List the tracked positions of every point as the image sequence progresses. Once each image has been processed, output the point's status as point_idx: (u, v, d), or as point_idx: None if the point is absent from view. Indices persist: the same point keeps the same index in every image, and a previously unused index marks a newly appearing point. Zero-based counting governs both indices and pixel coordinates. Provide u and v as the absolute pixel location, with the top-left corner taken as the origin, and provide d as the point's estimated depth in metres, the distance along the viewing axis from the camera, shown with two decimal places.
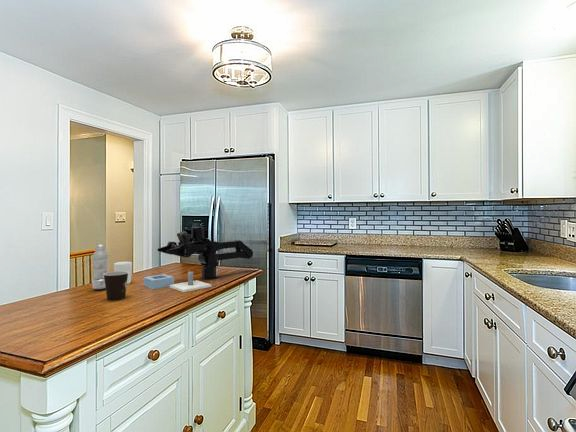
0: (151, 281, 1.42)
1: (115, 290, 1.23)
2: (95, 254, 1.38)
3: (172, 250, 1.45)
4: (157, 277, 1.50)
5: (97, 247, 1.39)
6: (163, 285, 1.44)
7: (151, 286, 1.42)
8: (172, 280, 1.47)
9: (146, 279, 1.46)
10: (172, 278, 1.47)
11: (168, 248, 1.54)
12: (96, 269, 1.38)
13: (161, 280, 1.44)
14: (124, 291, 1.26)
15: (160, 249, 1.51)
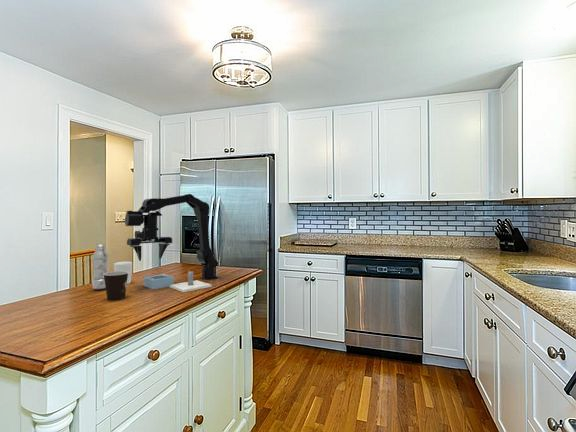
0: (151, 281, 1.42)
1: (115, 290, 1.23)
2: (95, 254, 1.38)
3: (137, 255, 1.41)
4: (157, 277, 1.50)
5: (97, 247, 1.39)
6: (163, 285, 1.44)
7: (151, 286, 1.42)
8: (172, 280, 1.47)
9: (146, 279, 1.46)
10: (172, 278, 1.47)
11: (160, 247, 1.48)
12: (96, 269, 1.38)
13: (161, 280, 1.44)
14: (124, 291, 1.26)
15: (159, 256, 1.48)
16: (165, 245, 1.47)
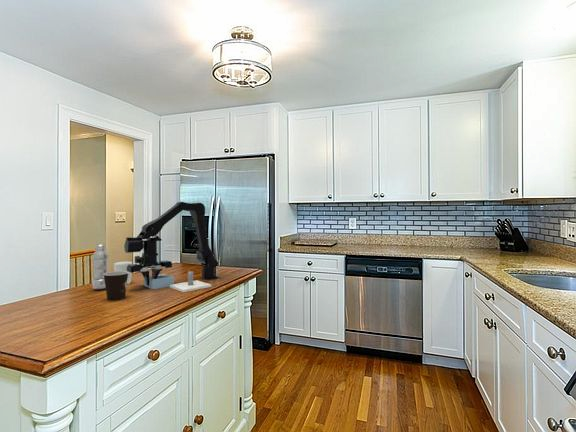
0: (151, 281, 1.42)
1: (115, 290, 1.23)
2: (95, 254, 1.38)
3: (145, 280, 1.44)
4: (157, 277, 1.50)
5: (97, 247, 1.39)
6: (163, 285, 1.44)
7: (151, 286, 1.42)
8: (172, 280, 1.47)
9: None
10: (172, 278, 1.47)
11: (153, 272, 1.46)
12: (96, 269, 1.38)
13: (161, 280, 1.44)
14: (124, 291, 1.26)
15: None
16: (158, 271, 1.45)
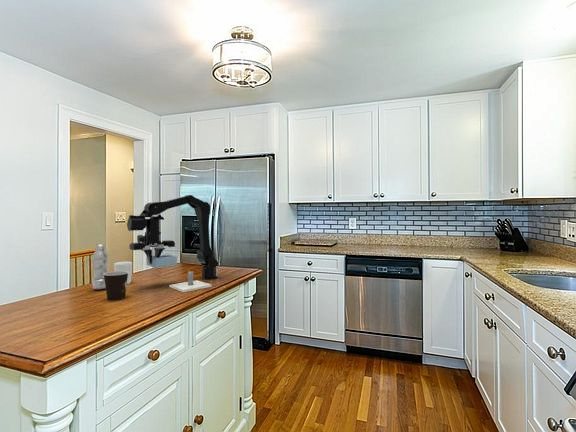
0: (154, 259, 1.41)
1: (115, 290, 1.23)
2: (95, 254, 1.38)
3: (148, 258, 1.43)
4: (160, 257, 1.50)
5: (97, 247, 1.39)
6: (166, 264, 1.44)
7: (154, 264, 1.42)
8: (175, 259, 1.47)
9: None
10: (175, 257, 1.47)
11: (156, 251, 1.46)
12: (96, 269, 1.38)
13: (164, 259, 1.43)
14: (124, 291, 1.26)
15: None
16: (160, 249, 1.44)
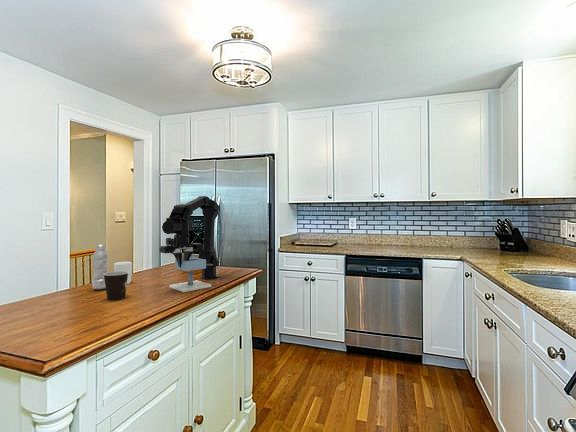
0: (184, 263, 1.39)
1: (115, 290, 1.23)
2: (95, 254, 1.38)
3: (177, 262, 1.41)
4: None
5: (97, 247, 1.39)
6: (195, 267, 1.42)
7: (184, 268, 1.39)
8: (204, 263, 1.45)
9: None
10: (204, 261, 1.45)
11: (185, 254, 1.44)
12: (96, 269, 1.38)
13: (194, 262, 1.41)
14: (124, 291, 1.26)
15: None
16: (190, 253, 1.42)
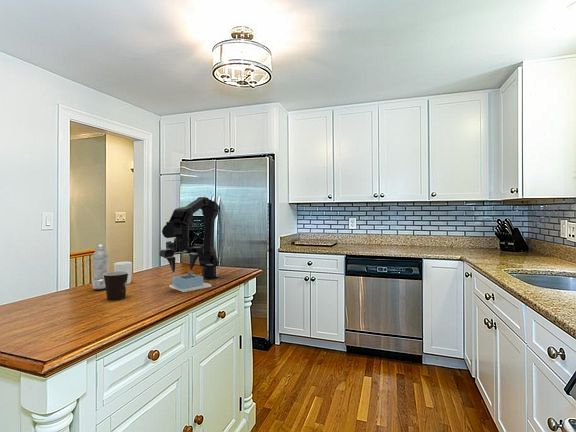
0: (181, 281, 1.38)
1: (115, 290, 1.23)
2: (95, 254, 1.38)
3: (171, 266, 1.39)
4: (185, 277, 1.47)
5: (97, 247, 1.39)
6: (193, 285, 1.40)
7: (181, 286, 1.38)
8: (201, 280, 1.43)
9: (175, 279, 1.42)
10: (201, 278, 1.43)
11: (191, 257, 1.46)
12: (96, 269, 1.38)
13: (191, 280, 1.40)
14: (124, 291, 1.26)
15: (190, 266, 1.45)
16: (196, 256, 1.44)
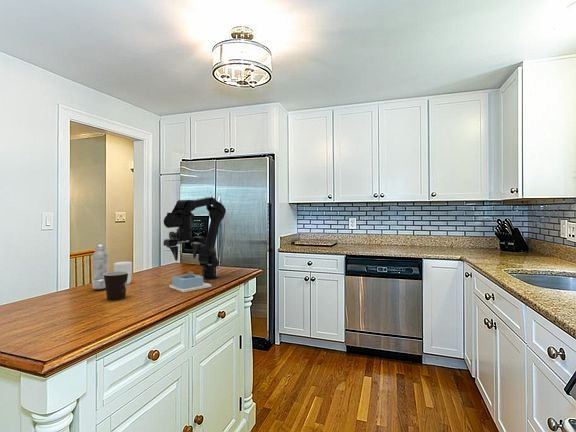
0: (181, 281, 1.38)
1: (115, 290, 1.23)
2: (95, 254, 1.38)
3: (174, 255, 1.45)
4: (185, 277, 1.47)
5: (97, 247, 1.39)
6: (193, 285, 1.40)
7: (181, 286, 1.38)
8: (201, 280, 1.43)
9: (175, 279, 1.42)
10: (201, 278, 1.43)
11: (194, 246, 1.53)
12: (96, 269, 1.38)
13: (191, 280, 1.40)
14: (124, 291, 1.26)
15: (193, 255, 1.52)
16: (199, 245, 1.51)
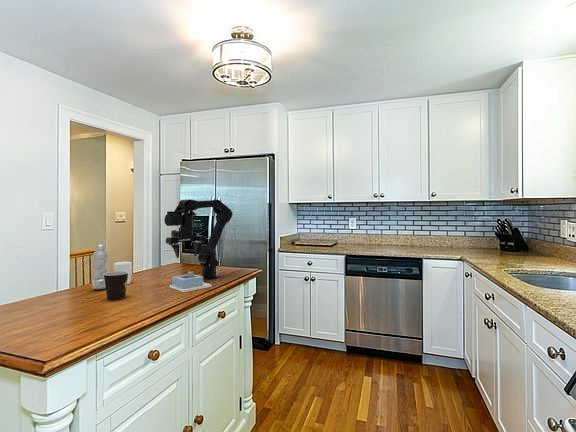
0: (181, 281, 1.38)
1: (115, 290, 1.23)
2: (95, 254, 1.38)
3: (175, 253, 1.50)
4: (185, 277, 1.47)
5: (97, 247, 1.39)
6: (193, 285, 1.40)
7: (181, 286, 1.38)
8: (201, 280, 1.43)
9: (175, 279, 1.42)
10: (201, 278, 1.43)
11: (195, 245, 1.57)
12: (96, 269, 1.38)
13: (191, 280, 1.40)
14: (124, 291, 1.26)
15: (194, 253, 1.57)
16: (200, 243, 1.56)
